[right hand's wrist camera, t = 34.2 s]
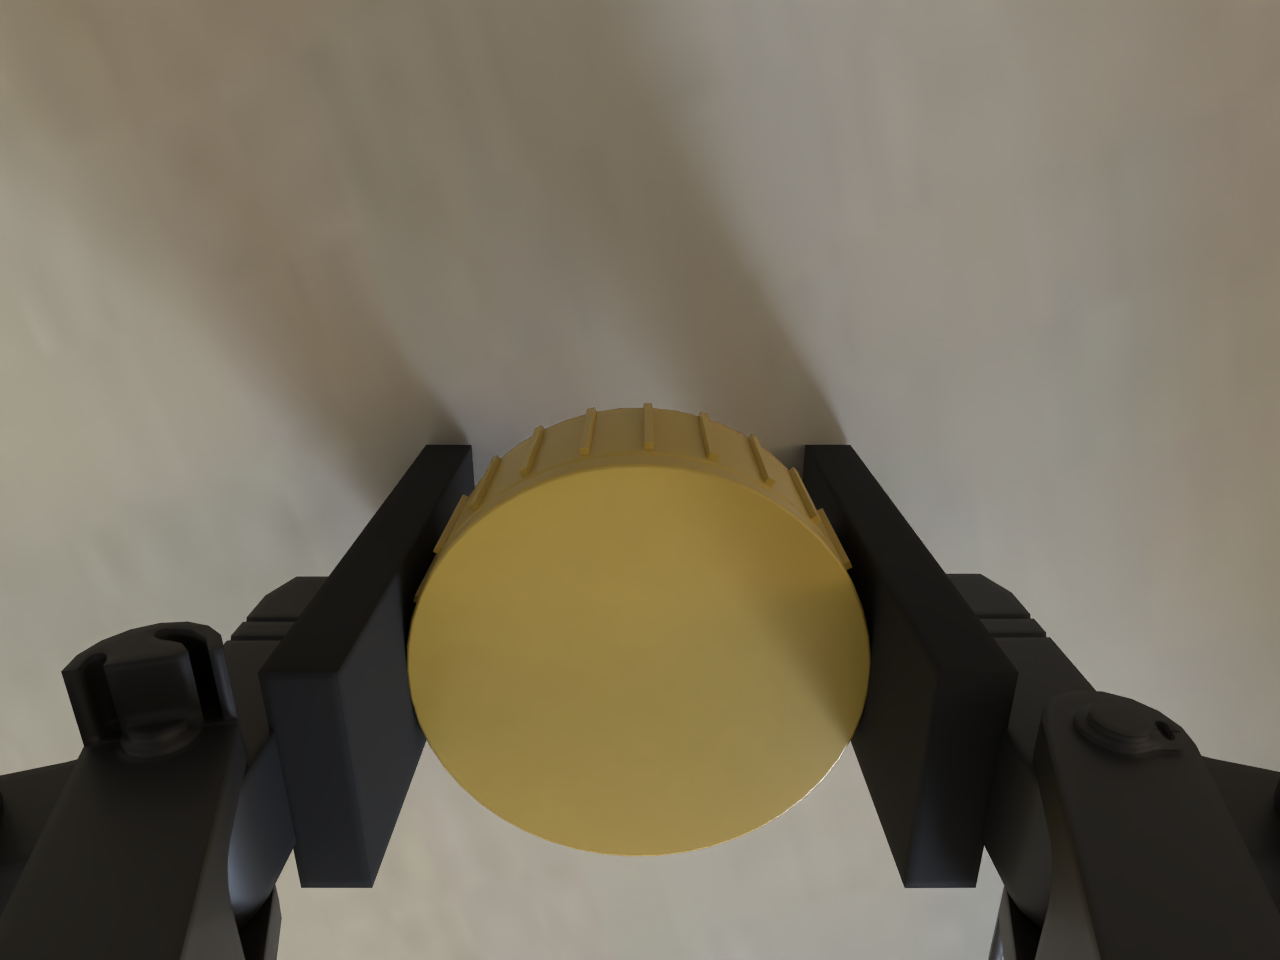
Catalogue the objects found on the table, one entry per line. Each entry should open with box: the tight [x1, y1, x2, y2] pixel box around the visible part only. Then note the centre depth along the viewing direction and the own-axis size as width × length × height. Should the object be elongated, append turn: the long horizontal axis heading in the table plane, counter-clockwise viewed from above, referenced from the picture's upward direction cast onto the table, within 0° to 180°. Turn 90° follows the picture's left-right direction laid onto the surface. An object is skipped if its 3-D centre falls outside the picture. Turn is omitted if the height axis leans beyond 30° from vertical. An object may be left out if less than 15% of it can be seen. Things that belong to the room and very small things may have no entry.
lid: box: [407, 403, 871, 856], centre depth 11 cm, size 6×6×2 cm
